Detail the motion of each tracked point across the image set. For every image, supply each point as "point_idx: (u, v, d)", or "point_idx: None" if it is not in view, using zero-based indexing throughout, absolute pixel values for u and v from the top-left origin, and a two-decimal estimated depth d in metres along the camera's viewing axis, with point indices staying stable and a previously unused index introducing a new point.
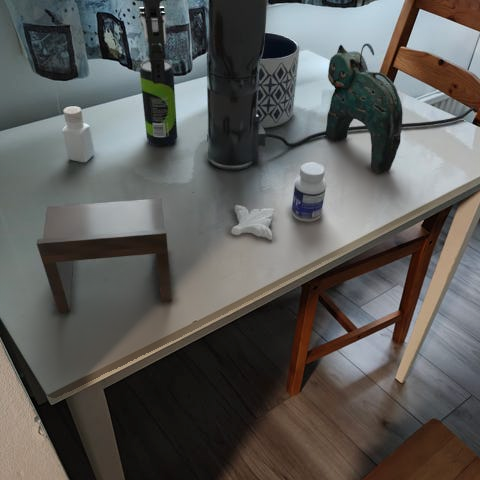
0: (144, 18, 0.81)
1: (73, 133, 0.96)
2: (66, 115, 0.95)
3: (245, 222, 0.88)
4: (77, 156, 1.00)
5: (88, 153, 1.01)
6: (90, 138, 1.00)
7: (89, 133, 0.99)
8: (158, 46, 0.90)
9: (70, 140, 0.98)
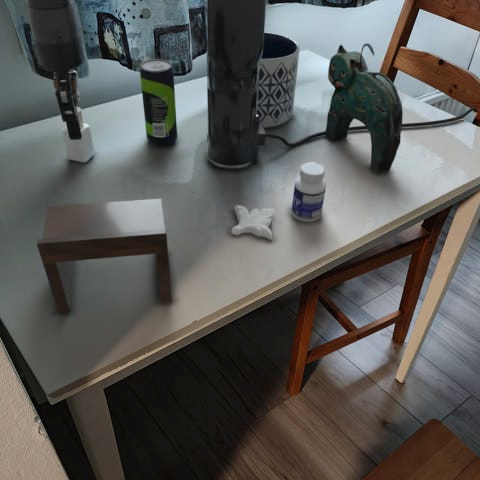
0: (56, 83, 0.90)
1: None
2: None
3: (245, 222, 0.88)
4: (77, 156, 1.00)
5: (88, 153, 1.01)
6: (90, 138, 1.00)
7: (89, 133, 0.99)
8: None
9: (70, 140, 0.98)
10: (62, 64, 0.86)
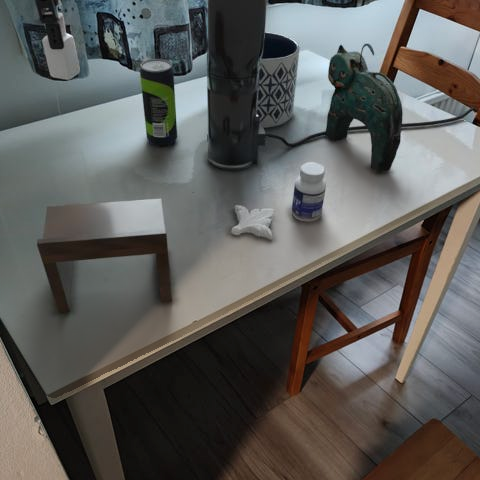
0: None
1: None
2: None
3: (245, 222, 0.88)
4: (60, 72, 0.88)
5: (73, 69, 0.89)
6: (74, 51, 0.88)
7: (73, 45, 0.87)
8: None
9: (51, 52, 0.86)
10: None
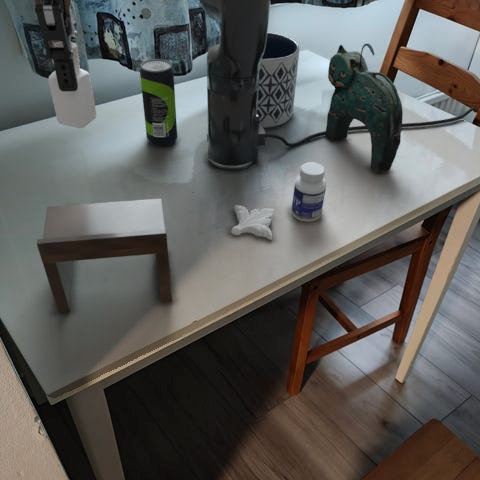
0: None
1: None
2: None
3: (245, 222, 0.88)
4: (70, 118, 0.67)
5: (87, 115, 0.68)
6: (90, 92, 0.67)
7: (89, 84, 0.67)
8: None
9: (60, 93, 0.65)
10: None
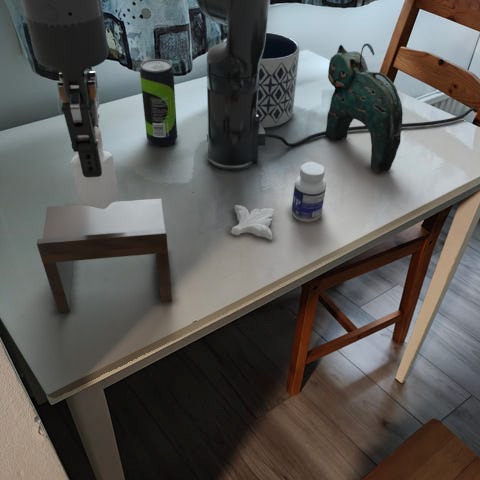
0: (64, 91, 0.56)
1: None
2: None
3: (245, 222, 0.88)
4: (93, 200, 0.66)
5: (110, 195, 0.66)
6: (113, 173, 0.66)
7: (111, 166, 0.65)
8: None
9: (83, 177, 0.64)
10: (73, 58, 0.52)
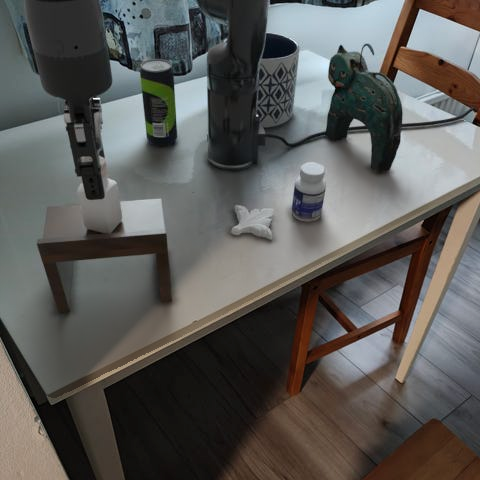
0: (69, 118, 0.58)
1: None
2: None
3: (245, 222, 0.88)
4: (98, 226, 0.69)
5: (114, 220, 0.69)
6: (117, 199, 0.68)
7: (116, 193, 0.68)
8: None
9: (89, 204, 0.66)
10: (78, 88, 0.54)
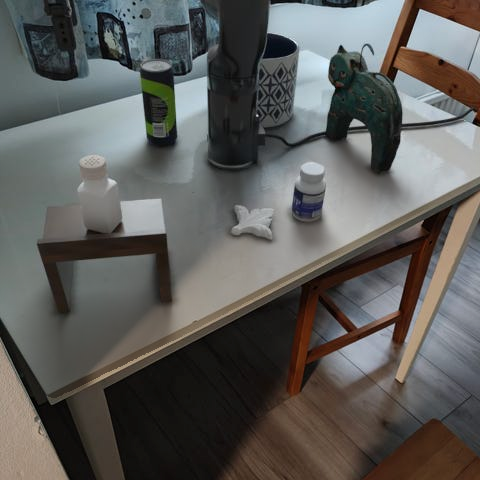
0: None
1: (93, 195, 0.65)
2: (83, 170, 0.63)
3: (245, 222, 0.88)
4: (98, 225, 0.69)
5: (114, 220, 0.69)
6: (117, 199, 0.68)
7: (116, 193, 0.68)
8: (70, 2, 0.67)
9: (89, 204, 0.66)
10: None
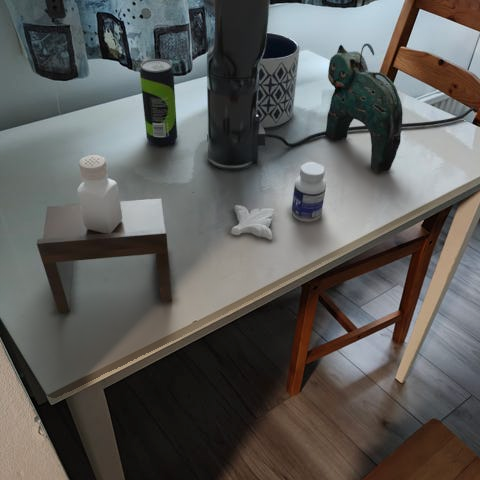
0: None
1: (93, 195, 0.65)
2: (83, 170, 0.63)
3: (245, 222, 0.88)
4: (98, 225, 0.69)
5: (114, 220, 0.69)
6: (117, 199, 0.68)
7: (116, 193, 0.68)
8: None
9: (89, 204, 0.66)
10: None
